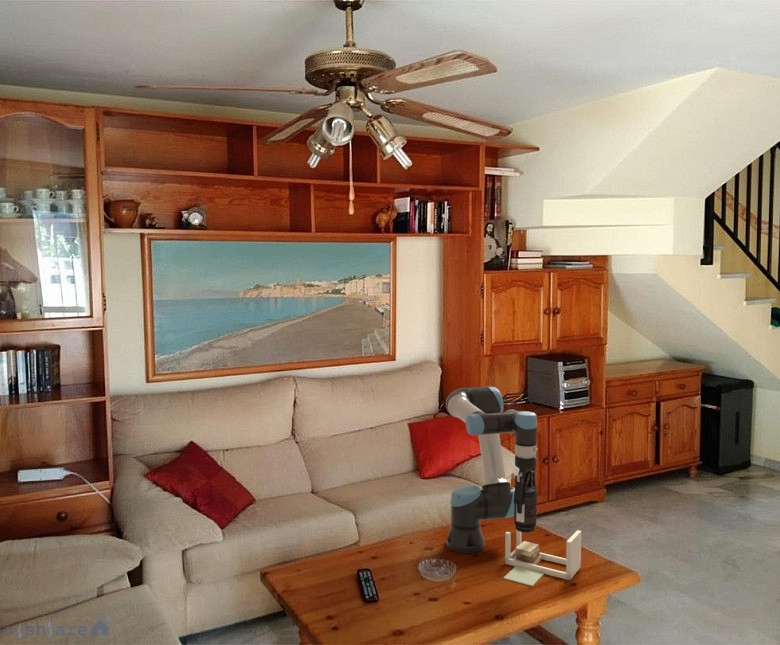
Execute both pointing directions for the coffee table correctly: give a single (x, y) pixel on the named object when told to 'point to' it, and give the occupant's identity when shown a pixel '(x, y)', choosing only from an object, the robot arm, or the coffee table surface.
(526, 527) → the camera lens
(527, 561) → the plate
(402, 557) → the coffee table surface
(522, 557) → the offcut middle
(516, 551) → the offcut top
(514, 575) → the mat
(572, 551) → the rack
